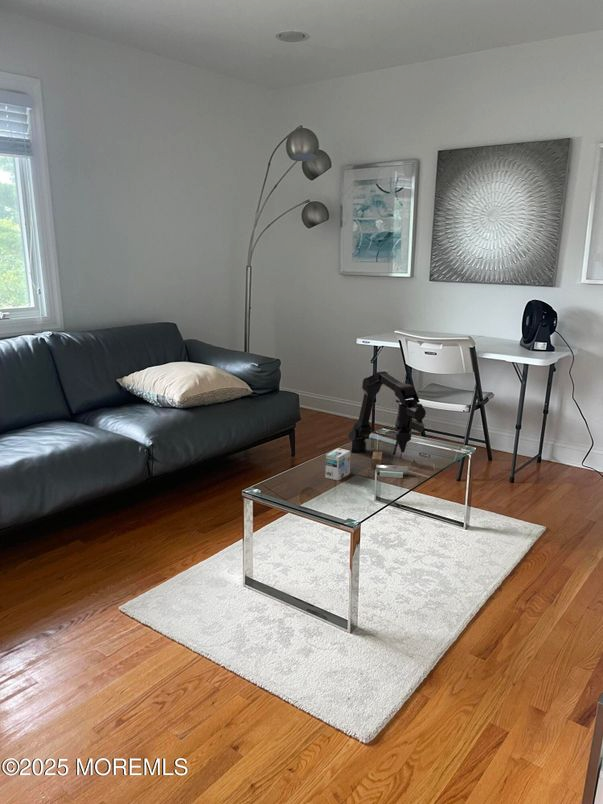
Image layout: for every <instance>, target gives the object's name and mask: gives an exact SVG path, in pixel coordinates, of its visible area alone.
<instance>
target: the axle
mask: <svg viewBox="0 0 603 804" xmlns="http://www.w3.org/2000/svg"><path fill="white" fill-rule="evenodd" d="M409 467H410V466H407V465H405V466H403V465H390V464H381V465H379V464H377V465H376V469H375V473H379V474H380V471H392V472H403V475H409Z"/></svg>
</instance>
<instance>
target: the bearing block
mask: <svg viewBox="0 0 603 804" xmlns="http://www.w3.org/2000/svg"><path fill="white" fill-rule="evenodd" d="M382 462H383V452H382V451H373V453H372V457H371V470H376V465H377V464H379V465H383V464H382Z"/></svg>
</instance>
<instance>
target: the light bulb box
mask: <svg viewBox="0 0 603 804" xmlns="http://www.w3.org/2000/svg"><path fill="white" fill-rule="evenodd" d="M351 453H352V452H351V450H348V449H344V448H340V447H338V448H336V449H333V450H332V451H330V452H327V453H326V454H325V478H327V479H330V480H334V481H340V480H342V479H343V478H345V477H347V476H349V475H350V474H351Z"/></svg>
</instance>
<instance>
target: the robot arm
mask: <svg viewBox="0 0 603 804" xmlns="http://www.w3.org/2000/svg"><path fill="white" fill-rule="evenodd" d="M382 385H384V386H385V387H387V388H389V389H390V390H391V391H393V392H394V396H395V397H396V398H397V399H395V403H397V404H398V406H397V407H398V411H397V412H398V413H397V422H396V425H397V426H396V433H395V438H396V441H397V444H398V446H399V450H400V452H401V453H405V451H406V446H407V444H408V442H410V441H412V430H413V431H416V432H418V434H419V433H420V434H422V433H423V430H424V428H425V423H424V422H422V420H423V419H424V418H425V417H426V413H427V412H426V408H424V407H423V404H422V403H420V397H419V396H418V394H417V391H416V388H415V386H414V385H412V384H409V383H404V382H401V381H400V380H398V379H396V378H395V377H393V376H392V375H390V374H389V373H388V371H377V372H376V373H374V374H372V375H370V376H368V377H365V378H363V379H362V385H361V387H362V388H361V389H362V391H363V393H364V394H363V398H362V402H361V407H360V412H359V417H358V420H356V421H355V423H354V424H353V427H352V430H351V431H350V432H349V433H348V439H350V440H351V450H350V451H351V453H359V454H365V453H366V452H367V441H366V440H369V438H370V435H371V434H372V431H373V430H372V429H373V427H372V426H371V424H370V418H371V415H372V410H373V405H374V401H375V398H376V397H375V396H377V395H378V393H379V392H380V391H381V388H382Z"/></svg>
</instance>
